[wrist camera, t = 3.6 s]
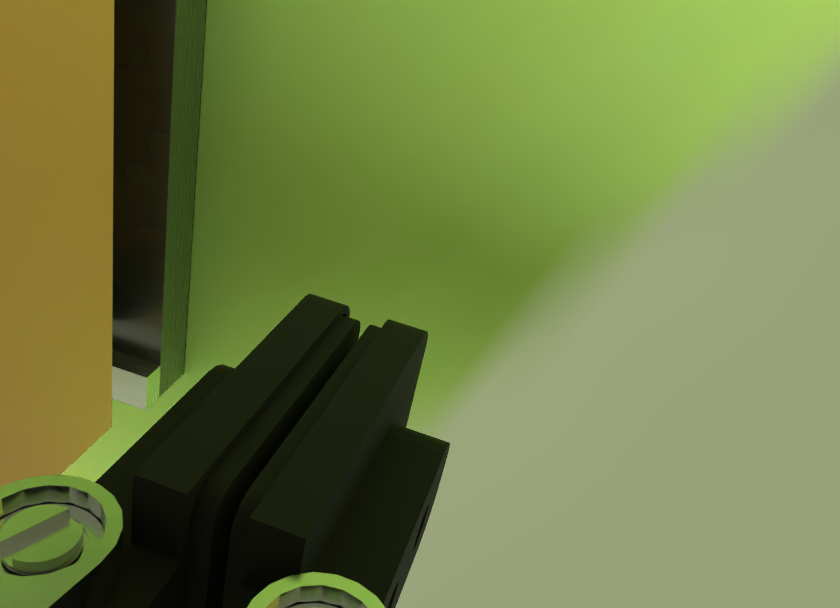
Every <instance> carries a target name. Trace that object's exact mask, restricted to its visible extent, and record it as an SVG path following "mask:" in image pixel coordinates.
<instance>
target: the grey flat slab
mask: <svg viewBox="0 0 840 608" xmlns="http://www.w3.org/2000/svg"><path fill="white" fill-rule="evenodd" d="M205 17H206V0H114V134H113V301H112V399H115V400H118V401H120V402H123V403H126V404H129V405H132V406H135V407H138V408H141V409H143V410H147V409H148V408H149V407H150V406H151V405H152V404H153V403H154V402H155V401H156V400H157V399H158V398H159V397H160V396H161V395H162V394H163V393H164V392H165V391H166V390H167V389H168V388H169V387H170V386H171V385H172V384H173V383H174V382H175V381H177V380H178V379H179V378H180V377H181V376H182V375H183V374H184V358H185V342H186V325H187V309H188V293H189V277H190V260H191V244H192V228H193V212H194V195H195V179H196V163H197V147H198V130H199V114H200V98H201V82H202V65H203V49H204V33H205Z"/></svg>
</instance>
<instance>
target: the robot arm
mask: <svg viewBox="0 0 840 608" xmlns="http://www.w3.org/2000/svg"><path fill="white" fill-rule="evenodd" d="M349 316H350V310H349V307H348V306H346V305H343V304H340V303H337V302H334V301H331V300H328V299H325V298H322V297H319V296H316V295H312V294H308V295H307V296H305V297H304V298H303V299H302V300H301V301H300V302H299V303H298V305H297V306H296V307H295V308H294V309H293V310H292V311H291V312H290V313H289V314H288V315H287V316H286V317H285V318H284V319H283V320H282V321H281V322H280V323H279V324H278V325H277V326H276V327H275V328H274V329H273V330H272V331H271V332H270V333H269V334H268V335H267V336H266V337H265V338H264V340H263V341H262V342H261V343H260V344H259V345H258V346H257V347H256V348H255V349H254V350H253V351H252V352H251V353H250V354H249V355H248V356H247V357H246V358H245V359H244V360H243V361H242V362H241V363H240V364H239V365H238V366H237V367H236V368H235V369H234V368H231V367H228V366H225V365H218V366H216V367H214V368H213V369H211V370H210V371H209V372H208V373H207V374H206V375H205V376H204V377H203V378H202V379H201V380H200V381H199V382H198V383H197V384H195V385H194V386H193V387H192V388H191V389H190V390H189V391H188V392H187V393H186V394H185V395H184V396H183V397H182V398H181V399H180V400H179V401H178V402H177V403H176V404H175V405H174V406H173V407H172V408H171V409H170V410H169V411H168V412H167V413H166V414H165V415H164V416H163V417H162V418H161V419H160V420H159V421H158V422H157V423H155V424H154V425H153V426H152V427H151V428H150V429H149V430H148V431H147V432H146V433H145V434H144V435H143V436H142V437H141V438H140V439H139V440H138V441H137V442H136V443H135V444H134V445H133V446H132V447H131V448H130V449H129V450H128V451H127V452H126V453H125V454H124V455H123V456H122V457H121V458H120V459H119V460H118V461H117V462H115V463H114V464H113V465H112V466H111V467H110V468H109V469H108V470H107V471H106V472H105V473H104V474H103V475H102V476H101V477H100V478H99V479H98V480H97V481H96V482H95V483H94V482H92V481H89V480H86V479H84V478H81V477H74V476H66V475H45V476H34V477H29V478H26V479H22V480H19V481H15V482H12V483H8V484H6V485H4V486H2V487H0V608H395V607H396V604H397V602H398V599H399V596H400V594H401V591H402V588H403V586H404V583H405V581H406V578H407V575H408V573H409V570H410V568H411V565H412V563H413V560H414V557H415V555H416V552H417V550H418V547H419V544H420V541H421V539H422V536H423V533H424V530H425V527H426V524H427V521H428V518H429V515H430V512H431V509H432V506H433V503H434V500H435V497H436V493H437V490H438V487H439V483H440V480H441V476H442V472H443V469H444V466H445V462H446V458H447V455H448V451H449V446H450V443H448V442H445V441H443V440H440V439H437V438H434V437H431V436H428V435H425V434H422V433H419V432H416V431H414V430H411V429H408V428H406V425H407V421H408V417H409V413H410V409H411V405H412V401H413V397H414V393H415V389H416V384H417V380H418V376H419V372H420V368H421V364H422V360H423V356H424V352H425V348H426V343H427V338H428V332H427V331H424V330H420V329H417V328H414V327H411V326H408V325H405V324H402V323H399V322H396V321H393V320H387V321H386V322H385V324H384V325H383V327H382V328H380V327H377V326H374V325H369V326H368V327H367V329H366V330H365V331H364V333H363V334H362V336H361V337H360V338H359V340H358V337H359V332H360V321H358V320H355V319H352V318H349Z"/></svg>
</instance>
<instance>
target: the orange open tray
mask: <svg viewBox="0 0 840 608" xmlns="http://www.w3.org/2000/svg"><path fill="white" fill-rule="evenodd" d="M113 134H114V0H0V487H2V486H4V485H6V484H8V483H12V482H15V481H19V480H22V479H26V478H29V477H34V476H45V475H60V474H62V473H63V472H64V471H65V470H66V469H67V468H68V467H69V466H70V465H71V464H72V463H73V462H74V461H75V460H77V459H78V458H79V457H80V456H81V455H82V454H83V453H84V452H85V451H86V450H87V449H88V448H89V447H90V446H91V445H93V444H94V443H95V442H96V441H97V440H98V439H99V438H100V437H101V436H102V435H103V434H104V433H105V432H106V431H108V430H109V429H110V428H111V427H112V301H113Z"/></svg>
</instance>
